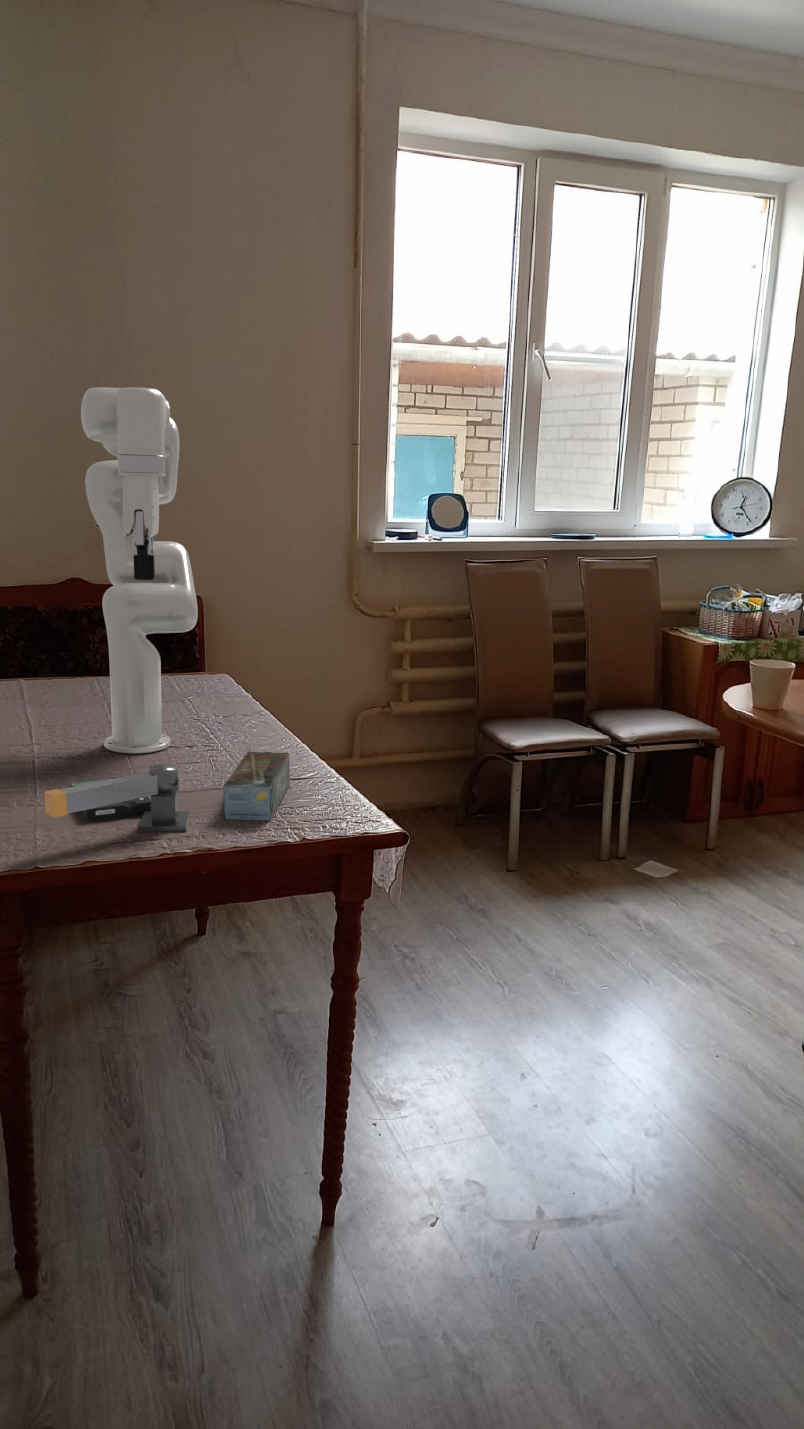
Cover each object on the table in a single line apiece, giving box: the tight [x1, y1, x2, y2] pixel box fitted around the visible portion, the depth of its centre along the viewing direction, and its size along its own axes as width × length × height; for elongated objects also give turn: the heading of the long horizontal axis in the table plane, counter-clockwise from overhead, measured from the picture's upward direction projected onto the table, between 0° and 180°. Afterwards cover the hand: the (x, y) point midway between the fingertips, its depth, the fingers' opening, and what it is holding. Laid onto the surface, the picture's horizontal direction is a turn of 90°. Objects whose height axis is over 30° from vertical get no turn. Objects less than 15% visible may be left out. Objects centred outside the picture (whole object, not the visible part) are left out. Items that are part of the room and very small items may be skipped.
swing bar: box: [44, 763, 180, 818], centre depth 155 cm, size 21×4×4 cm, turn 133°
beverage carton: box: [223, 751, 291, 822], centre depth 174 cm, size 8×19×7 cm, turn 177°
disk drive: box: [69, 776, 151, 822], centre depth 171 cm, size 10×3×15 cm
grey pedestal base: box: [138, 791, 191, 833], centre depth 162 cm, size 7×7×5 cm
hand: (144, 579), depth 176 cm, fingers closed
